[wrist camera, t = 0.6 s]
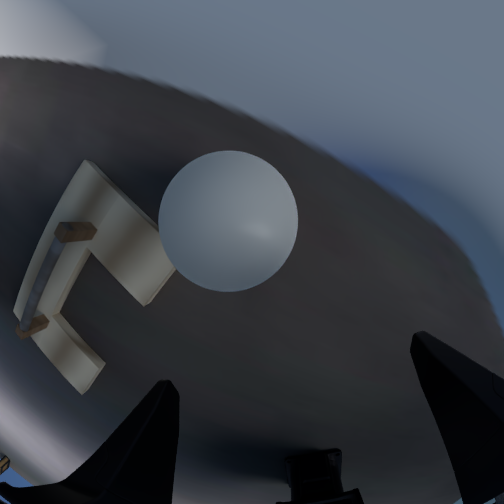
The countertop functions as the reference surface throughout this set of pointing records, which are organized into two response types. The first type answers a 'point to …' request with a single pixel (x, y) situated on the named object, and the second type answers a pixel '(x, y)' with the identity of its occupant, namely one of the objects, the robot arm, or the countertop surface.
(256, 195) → the lidded paper cup
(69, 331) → the grey piece
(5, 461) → the ammunition clip
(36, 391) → the countertop surface
